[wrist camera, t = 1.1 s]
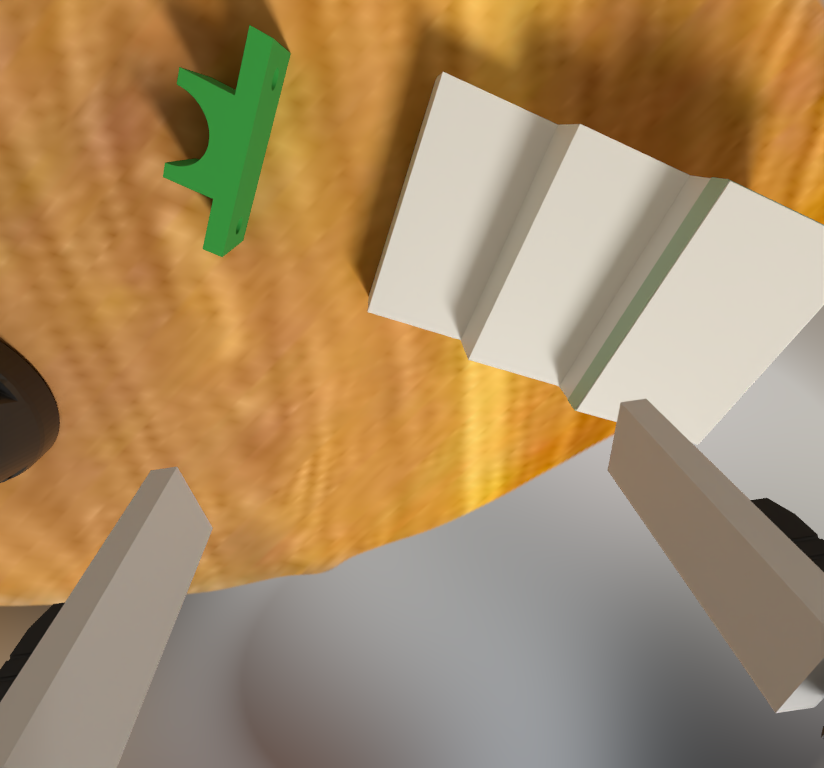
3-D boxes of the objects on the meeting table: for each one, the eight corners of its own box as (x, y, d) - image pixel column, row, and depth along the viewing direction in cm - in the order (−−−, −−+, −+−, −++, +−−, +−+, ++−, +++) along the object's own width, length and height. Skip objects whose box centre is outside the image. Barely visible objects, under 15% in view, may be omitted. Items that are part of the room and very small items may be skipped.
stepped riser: (368, 297, 31) (364, 352, 23) (436, 77, 24) (463, 51, 16) (631, 379, 36) (698, 445, 28) (746, 218, 29) (874, 249, 22)
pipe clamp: (223, 15, 22) (190, -11, 18) (291, 54, 23) (274, 37, 19) (186, 216, 27) (153, 230, 23) (243, 241, 28) (221, 257, 24)
